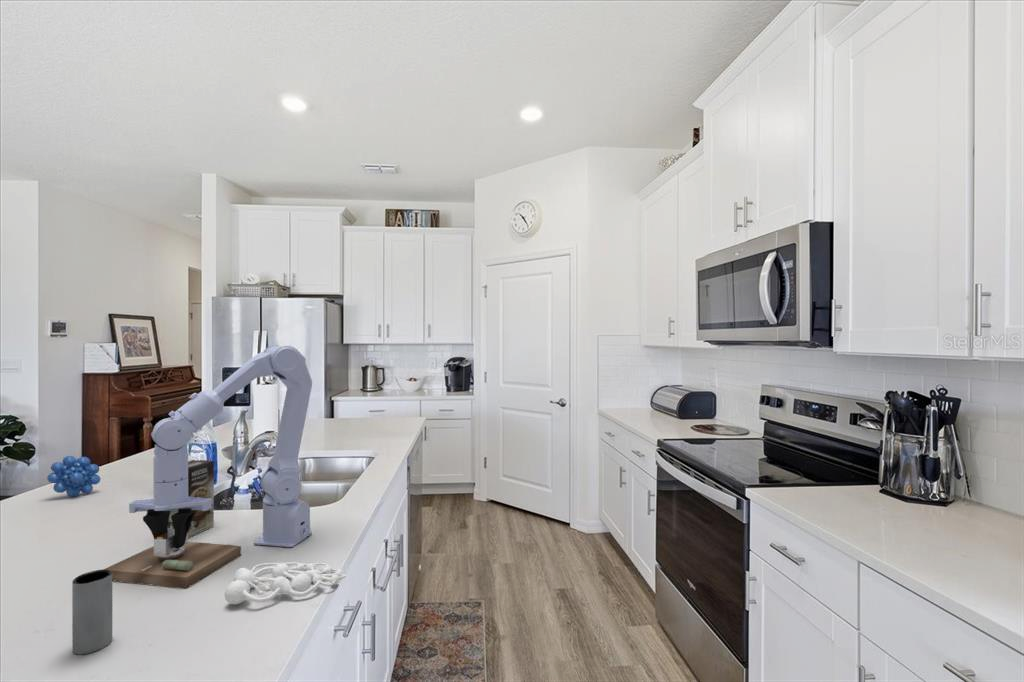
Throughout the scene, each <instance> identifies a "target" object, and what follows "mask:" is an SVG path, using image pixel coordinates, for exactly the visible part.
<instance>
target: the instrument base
mask: <svg viewBox="0 0 1024 682" xmlns="http://www.w3.org/2000/svg"><path fill="white" fill-rule="evenodd" d="M184 547H185V553H184V554H183V555H182V556H180V557H178V558H174V559H170V560H159V559H158V556H154V545H153V546H151V547H148V548H146V549H144V550H142V551H140V552H138V553H136V554H133V555H132V556H129V557H126V558H125V559H122V560H120V561H119V562H116V563H114V564H112V565H110V566H107V567H106V568H103V569H102V570H111V571H112V580H115V581H114V582H117V581H122V582H121V583H127V582H132V583H131V584H137V583H143V584H142V585H147V584H152V585H151V586H157V585H160V587H167V586H168V587H169V588H177V587H179V588H180V589H188V588H189V587H191V586H193V585H194V584H196V583H198V582H199V581H201V580H202V579H204V578H206V577H208V576H209V575H212V574H213V573H214V572H215V571H217V570H219V569H221V568H222V567H224V566H225V565H228V564H229V563H231V562H233V561H234V560H236V559H238V558H239V557H241V555H242V553H241V552H242V547H241V545H237V544H236V545H234V544H223V543H210V542H209V543H208V542H197V541H188V543H187V544H185V545H184ZM193 583H194V584H193ZM192 584H193V585H192ZM190 585H191V586H190ZM187 587H188V588H187Z"/></svg>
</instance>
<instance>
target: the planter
mask: <svg viewBox="0 0 1024 682" xmlns="http://www.w3.org/2000/svg"><path fill="white" fill-rule="evenodd" d="M71 583H72V585H71V586H72V591H71V593H72V594H71V595H72V601H71V602H72V603H71V604H72V605H71V606H72V607H71V610H72V611H71V614H72V619H71V620H72V625H71V627H72V629H71V630H72V632H71V633H72V635H71V638H72V641H71V642H72V645H71V646H72V652H73V654H75V655H86V654H91V653H94V652H97V651H100V650H102V649H104V648H105V647H107V646H108V645H109V644H110V643H111V642H112V641H113V581H112V571H111V570H103V569H96V570H92V571H88V572H85V573H82V574H79V575H78V576H77V577H75V578H74V579H73V580H72V582H71Z"/></svg>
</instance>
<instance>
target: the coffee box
mask: <svg viewBox="0 0 1024 682" xmlns="http://www.w3.org/2000/svg"><path fill="white" fill-rule="evenodd" d="M214 483H215V461H214V460H206V459H203V460H202V459H201V460H199V459H196V460H195V459H192V460H188V497H197V498H212V507H211V508H210V509H209V510H207V511H201V510H198V511H197V513H196V515H195V516H194V518H193V520H192V522H191V525H190V527H189V530H188V539H189V538H191V537H194V536H195V535H199V534H200V533H203V532H204V531H207V530H208V529H211V528H213V527H214V524H215V521H214V518H215V516H214V514H215V508H214V507H215V506H214V505H215V503H214V501H215V495H214V493H215V484H214ZM177 512H178V511H170V516H169V521H168V532H169V531H171V530H173V529H174V525H173V522H172V519H171V516H172V515H173V514H175V513H177Z"/></svg>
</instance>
